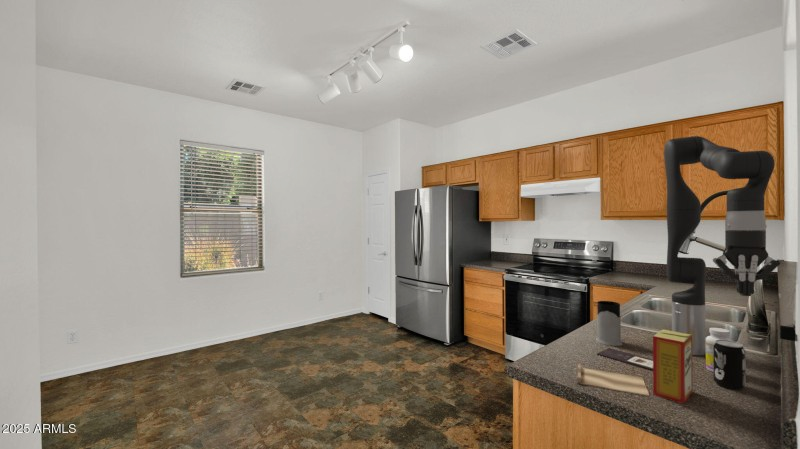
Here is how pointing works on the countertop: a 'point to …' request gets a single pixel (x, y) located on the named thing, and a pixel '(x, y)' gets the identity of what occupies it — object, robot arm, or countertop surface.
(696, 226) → the robot arm
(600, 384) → the wooden board
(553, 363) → the countertop surface
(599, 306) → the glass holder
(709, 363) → the supplement bottle
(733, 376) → the beverage can
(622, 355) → the chocolate bar
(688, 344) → the baking soda box
